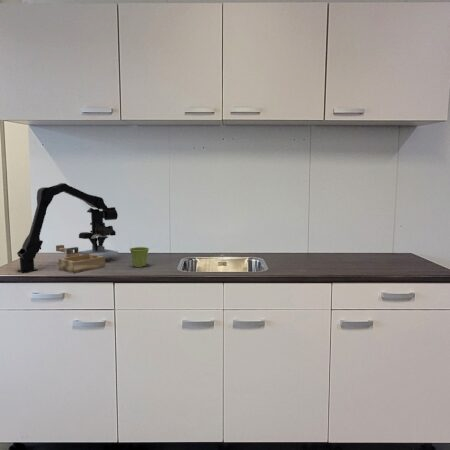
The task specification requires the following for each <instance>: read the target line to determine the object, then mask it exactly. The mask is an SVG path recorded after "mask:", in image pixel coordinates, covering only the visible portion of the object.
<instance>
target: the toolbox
mask: <svg viewBox="0 0 450 450" xmlns="http://www.w3.org/2000/svg"><path fill="white" fill-rule="evenodd" d="M71 250H73V253H71ZM65 256H66V257H61V258H59V259H58V267H59V268H58V269H59V270H61V271H64V272H69V273H73V274H78V273H82V272H87V271H91V270H97V269H101V268H106V257H103V256H98V255H93V254H85V255H82V254H79V247H78V246H76V247H75V246H73V247H67V253H65Z"/></svg>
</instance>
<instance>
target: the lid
mask: <svg viewBox="0 0 450 450" xmlns="http://www.w3.org/2000/svg"><path fill="white" fill-rule="evenodd" d="M78 252H79V255H85V254H93V255H98V256H103V257H105V258H108V257H114V256H115V255H118V254H119V251H118V250H112V249H106V248H105V245H103V246H99V245H98V244H97V251H96V250H95V249H94V247H93V245H91V249H88V250H81V251H80V250H78Z"/></svg>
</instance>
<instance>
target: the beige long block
mask: <svg viewBox="0 0 450 450" xmlns="http://www.w3.org/2000/svg"><path fill="white" fill-rule="evenodd" d="M67 248H68V247H67ZM67 248H66V247H65V245H64V244H57V245H55V252H59V253H60V252H61V253H65V254H67ZM71 253H74V250H71Z"/></svg>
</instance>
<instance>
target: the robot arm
mask: <svg viewBox="0 0 450 450" xmlns="http://www.w3.org/2000/svg"><path fill="white" fill-rule="evenodd" d="M61 193H65V194H67V195H70V196H72V197H74V198H77V199H79V200H81V201H83V202H84V203H85V204H87V205H88V206H90V207H89V209H88V210H86V213H89V214H91V215H90V217H91V219H90V221H91V222H90V224H89V225H90V226H91V230H90V232H87V231H83V232H79V234H78V239H83V240H89V242H90V243H91V244H92V245H93V247H94V249H95V250H96V251H97V245H99V246H104V243H105V241H106V239H108V238H109V236H116V233H117V232H116V230H115V229H114V227H113V226H112V225H107V226H106V223H105V222H104V221H114V220H117V219H118V211H117V209H116V207H114V206H111V207H108V206H107V204H106V203H105V200H104V199H103V198H102V197H101V196H97V195H92V194H89V193H86V192H84V191H82V190H79V189H77V188H75V187H74V186H71V185H68V184H67V183H65V182H64V183H63V182H61V183H58V184H55V185H52V186H47V187H46V186H45V187H40V188H38V190H37V191H36V209H35V213H34V216H33V219H32V222H31V227H30V231H29V233H28V235H27V236H26V238H25V240H24V241H23V244H22V247H21V248H20V250H18V252H16V254H17V256H18V258H19V266H20V267H19V269H17V270H16V271H17V272H20V273H23V274H24V273H30V272H34V271H38V268H35V258H36V255H37V254H38V253H39V252H40V250H42V245H43V242H44V241H43V240H41V238H40V235H41V232H42V229H43V225H44V221H45V217H46V214H47V210H48V207H49V206H50V204H51V202H52V201H53V199H54V197H55V196H57V195H59V194H61ZM92 245H91V246H92Z"/></svg>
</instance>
